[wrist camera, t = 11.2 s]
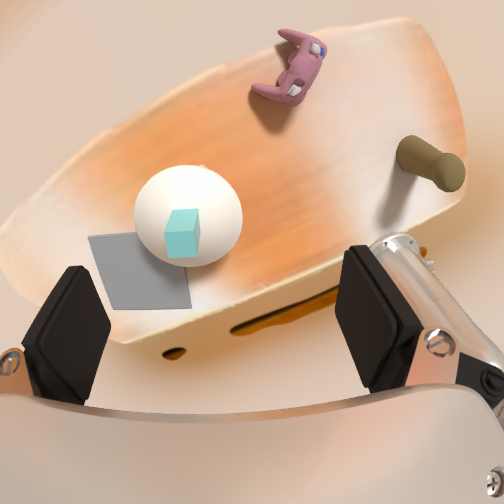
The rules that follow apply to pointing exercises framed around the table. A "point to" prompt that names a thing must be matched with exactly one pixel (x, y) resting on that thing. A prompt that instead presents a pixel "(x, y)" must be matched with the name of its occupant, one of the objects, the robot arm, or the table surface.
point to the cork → (431, 163)
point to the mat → (138, 274)
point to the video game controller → (296, 69)
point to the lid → (188, 215)
